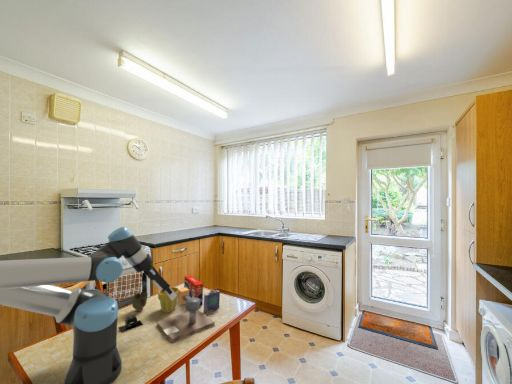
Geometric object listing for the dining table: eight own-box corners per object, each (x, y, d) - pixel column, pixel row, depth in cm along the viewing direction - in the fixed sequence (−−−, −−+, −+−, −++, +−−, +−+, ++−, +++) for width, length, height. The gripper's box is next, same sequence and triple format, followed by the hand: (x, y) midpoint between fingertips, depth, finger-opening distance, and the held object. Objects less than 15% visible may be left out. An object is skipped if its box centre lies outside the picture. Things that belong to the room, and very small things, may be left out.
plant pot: (166, 316, 114) (166, 296, 114) (153, 310, 119) (154, 291, 120) (182, 308, 123) (183, 289, 123) (170, 303, 128) (170, 285, 128)
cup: (140, 315, 114) (140, 298, 115) (127, 313, 116) (128, 297, 116) (150, 308, 122) (150, 292, 122) (137, 306, 123) (138, 291, 123)
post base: (170, 343, 92) (171, 323, 93) (155, 325, 105) (156, 308, 105) (214, 325, 106) (214, 308, 107) (196, 311, 119) (197, 296, 119)
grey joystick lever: (202, 309, 105) (202, 296, 106) (189, 313, 101) (190, 300, 102) (187, 298, 116) (187, 286, 117) (175, 302, 112) (176, 289, 113)
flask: (205, 313, 117) (205, 292, 118) (202, 311, 119) (202, 290, 120) (220, 308, 123) (220, 287, 124) (217, 306, 126) (217, 286, 126)
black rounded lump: (142, 319, 111) (143, 310, 111) (148, 325, 106) (148, 315, 106) (113, 329, 103) (113, 318, 103) (117, 336, 97) (117, 325, 98)
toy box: (202, 305, 126) (203, 283, 127) (195, 307, 124) (196, 285, 124) (190, 294, 141) (190, 274, 141) (183, 295, 138) (184, 276, 139)
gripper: (158, 258, 89) (187, 294, 97) (138, 248, 108) (164, 279, 116) (141, 273, 85) (172, 309, 93) (124, 259, 104) (151, 291, 111)
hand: (168, 293), depth 104 cm, fingers open, 13 cm apart
